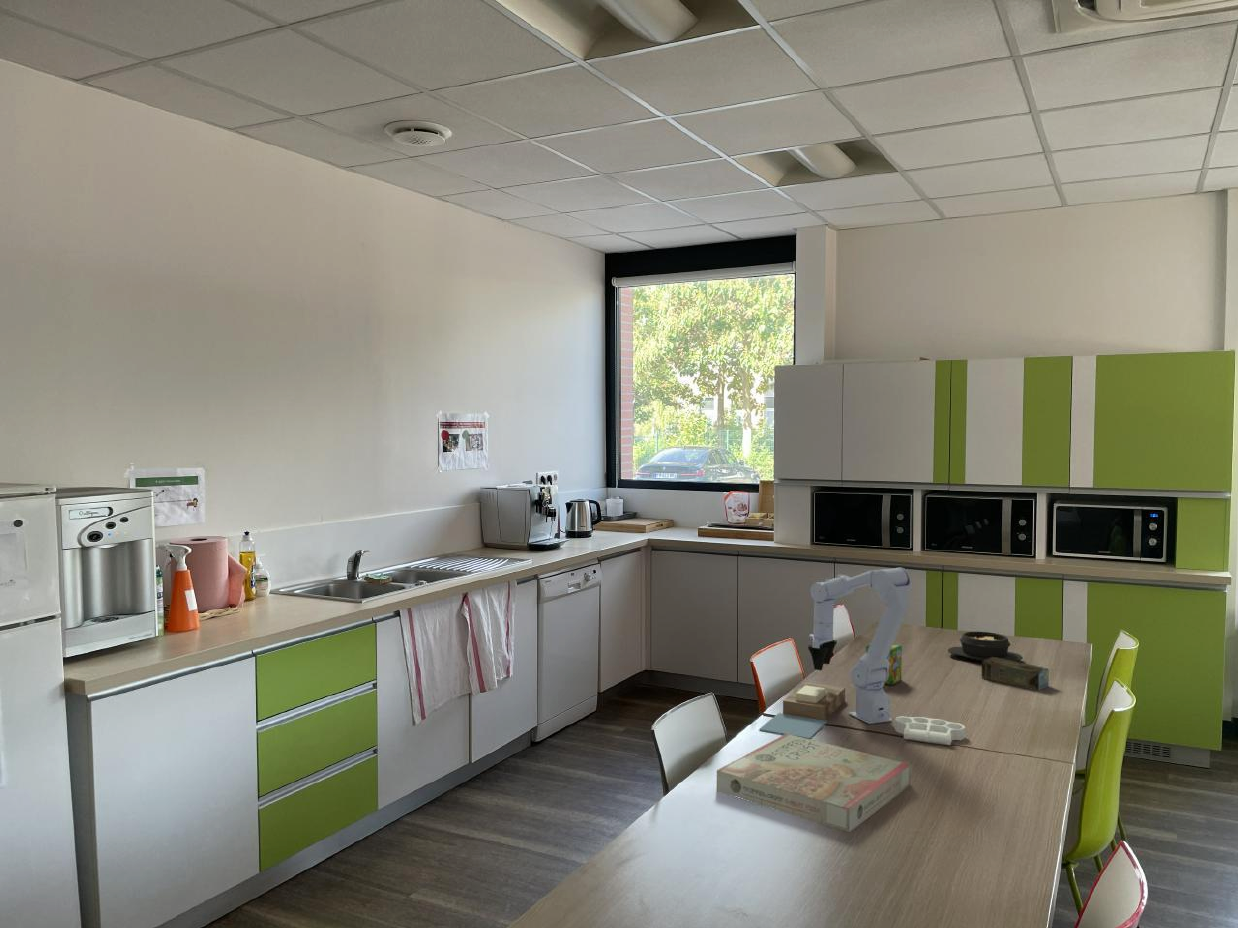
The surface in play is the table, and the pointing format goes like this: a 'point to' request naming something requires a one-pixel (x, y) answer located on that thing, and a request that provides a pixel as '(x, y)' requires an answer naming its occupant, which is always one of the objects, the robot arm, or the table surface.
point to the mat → (793, 725)
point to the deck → (815, 710)
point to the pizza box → (815, 780)
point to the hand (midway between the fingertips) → (822, 666)
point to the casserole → (984, 647)
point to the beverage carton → (1015, 673)
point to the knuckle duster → (929, 730)
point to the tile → (810, 694)
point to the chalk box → (893, 664)
